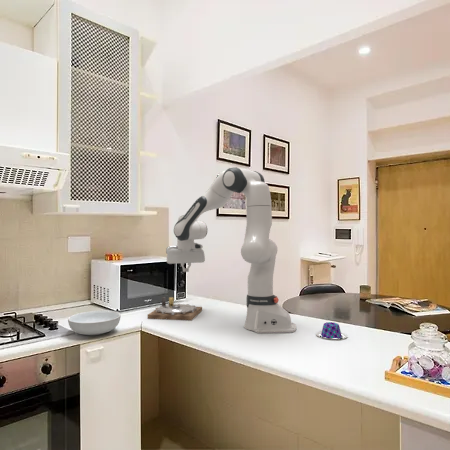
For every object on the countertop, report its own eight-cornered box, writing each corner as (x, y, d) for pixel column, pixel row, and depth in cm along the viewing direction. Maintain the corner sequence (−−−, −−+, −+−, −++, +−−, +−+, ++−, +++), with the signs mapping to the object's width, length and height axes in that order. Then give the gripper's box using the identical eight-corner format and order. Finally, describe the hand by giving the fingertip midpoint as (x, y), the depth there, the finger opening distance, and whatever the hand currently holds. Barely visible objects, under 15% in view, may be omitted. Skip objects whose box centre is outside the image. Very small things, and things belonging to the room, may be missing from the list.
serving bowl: (56, 337, 148) (56, 320, 148) (90, 324, 167) (90, 309, 168) (100, 341, 141) (100, 323, 141) (130, 327, 161) (130, 312, 161)
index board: (202, 310, 196) (202, 297, 196) (191, 320, 174) (191, 305, 174) (162, 309, 200) (162, 296, 200) (147, 318, 178) (147, 304, 178)
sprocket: (187, 304, 201) (187, 295, 201) (203, 311, 183) (203, 301, 183) (149, 308, 191) (149, 298, 191) (163, 316, 173) (163, 305, 173)
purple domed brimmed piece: (351, 341, 141) (351, 327, 141) (320, 341, 141) (320, 327, 141) (341, 332, 153) (341, 319, 153) (312, 332, 153) (312, 320, 153)
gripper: (166, 246, 190) (167, 273, 190) (205, 245, 196) (205, 271, 195) (165, 245, 196) (165, 271, 196) (202, 245, 202) (203, 270, 201)
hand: (185, 271), depth 196 cm, fingers closed
